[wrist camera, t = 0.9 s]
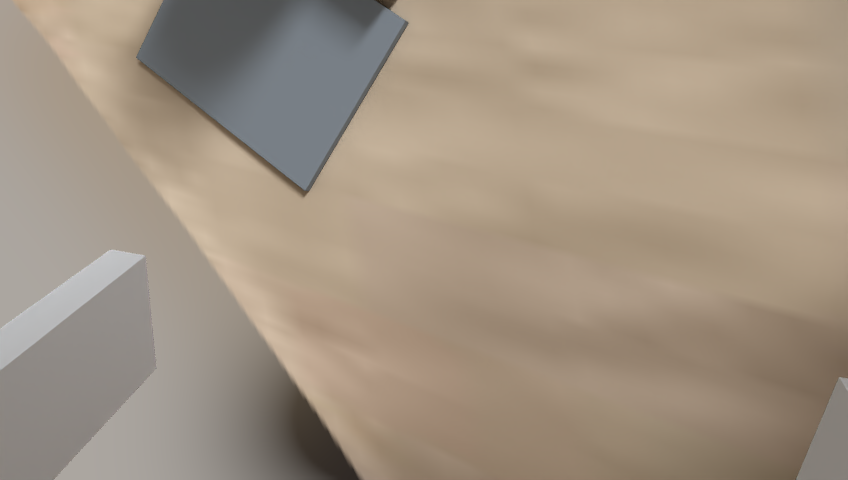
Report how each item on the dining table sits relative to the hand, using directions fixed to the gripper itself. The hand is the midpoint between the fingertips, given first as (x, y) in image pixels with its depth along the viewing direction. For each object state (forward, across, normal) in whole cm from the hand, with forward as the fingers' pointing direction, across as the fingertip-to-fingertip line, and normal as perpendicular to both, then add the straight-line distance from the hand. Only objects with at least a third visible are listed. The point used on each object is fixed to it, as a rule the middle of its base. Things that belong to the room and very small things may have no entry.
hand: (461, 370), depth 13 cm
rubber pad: (+32, -17, -1) cm, 36 cm away
